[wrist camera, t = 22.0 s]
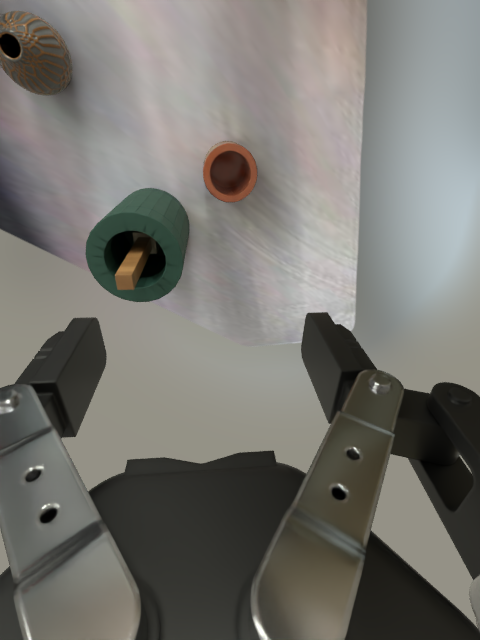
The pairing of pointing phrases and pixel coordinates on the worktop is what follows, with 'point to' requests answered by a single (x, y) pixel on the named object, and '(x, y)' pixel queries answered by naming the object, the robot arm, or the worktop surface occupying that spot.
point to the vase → (34, 53)
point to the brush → (135, 261)
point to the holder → (229, 171)
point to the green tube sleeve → (117, 239)
